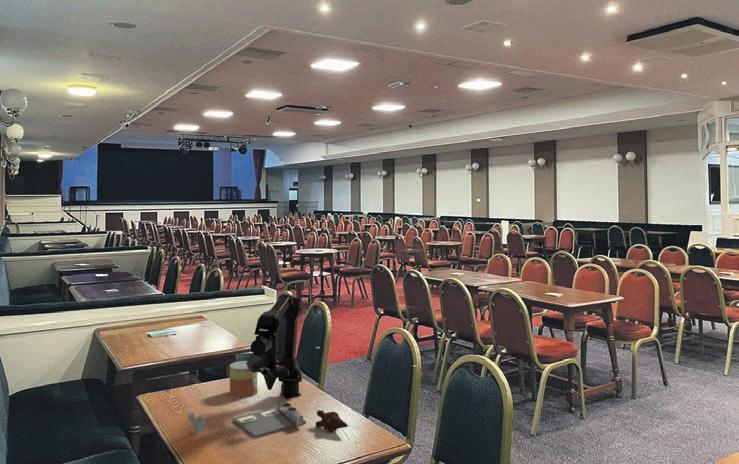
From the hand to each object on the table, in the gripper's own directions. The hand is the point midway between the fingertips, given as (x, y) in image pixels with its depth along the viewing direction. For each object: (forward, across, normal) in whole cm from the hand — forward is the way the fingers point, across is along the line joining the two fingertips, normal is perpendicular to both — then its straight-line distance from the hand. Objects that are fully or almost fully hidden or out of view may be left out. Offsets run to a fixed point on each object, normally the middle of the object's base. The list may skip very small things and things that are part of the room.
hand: (269, 389), depth 206 cm
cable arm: (+8, +8, +4) cm, 12 cm away
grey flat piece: (+10, -2, -27) cm, 29 cm away
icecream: (+10, +25, +11) cm, 29 cm away
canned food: (+10, -28, +3) cm, 30 cm away
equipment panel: (+10, +5, -3) cm, 12 cm away
